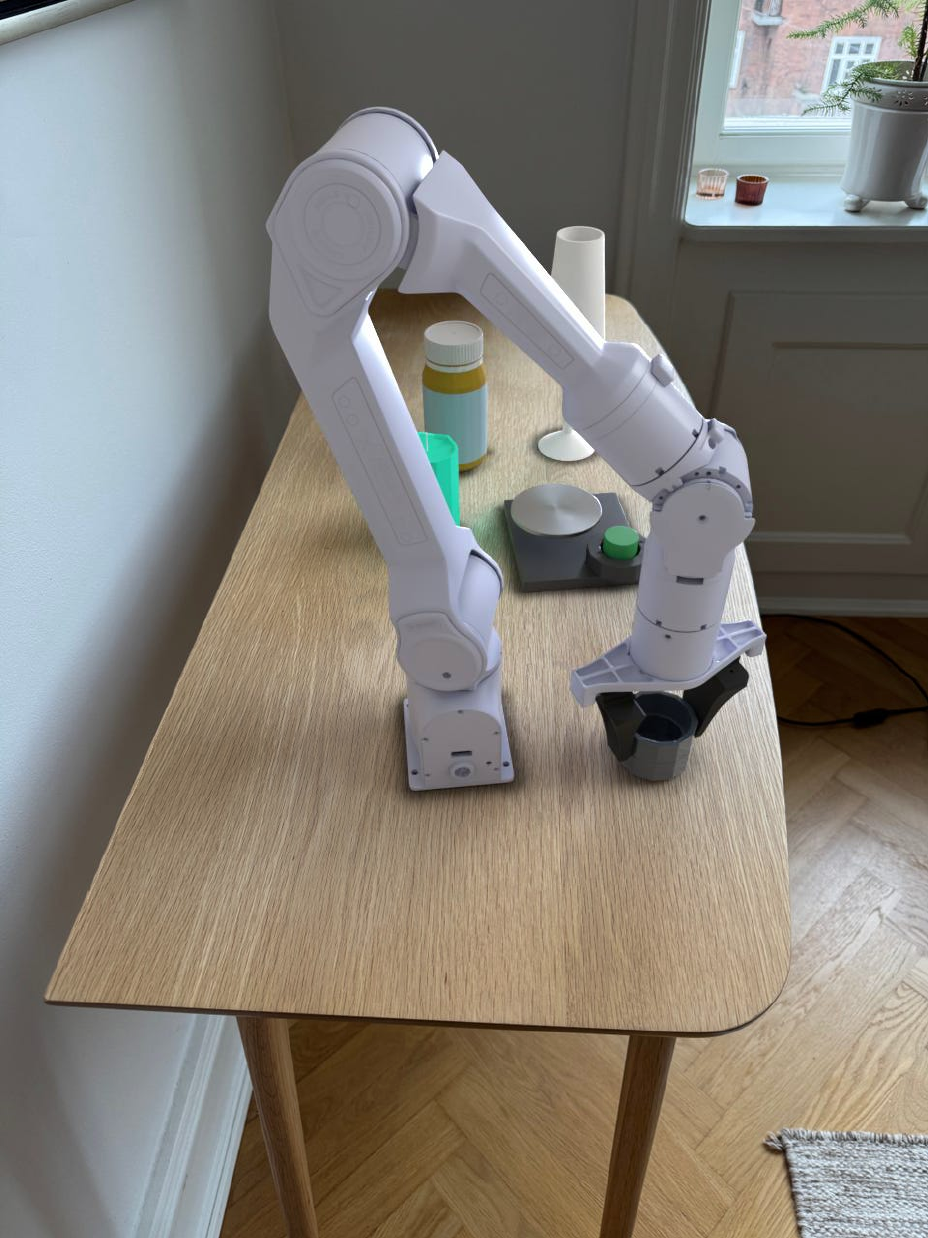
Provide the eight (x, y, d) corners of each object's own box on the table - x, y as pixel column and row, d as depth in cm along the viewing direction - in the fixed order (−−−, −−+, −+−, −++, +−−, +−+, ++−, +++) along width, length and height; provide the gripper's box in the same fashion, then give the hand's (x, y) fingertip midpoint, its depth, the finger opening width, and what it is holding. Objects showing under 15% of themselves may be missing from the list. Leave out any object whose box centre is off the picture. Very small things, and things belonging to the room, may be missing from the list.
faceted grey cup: (697, 781, 69) (706, 741, 66) (624, 788, 69) (630, 748, 66) (676, 726, 73) (684, 687, 71) (608, 732, 73) (613, 693, 70)
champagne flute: (606, 453, 105) (627, 239, 89) (553, 465, 103) (565, 249, 88) (579, 426, 110) (594, 219, 94) (528, 438, 108) (535, 228, 92)
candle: (454, 557, 90) (450, 451, 83) (395, 551, 91) (386, 445, 84) (466, 523, 95) (464, 419, 87) (410, 517, 96) (403, 414, 88)
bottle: (415, 465, 104) (407, 339, 94) (444, 437, 109) (440, 314, 99) (469, 479, 101) (467, 352, 92) (497, 450, 106) (498, 325, 96)
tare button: (640, 559, 86) (642, 544, 85) (606, 561, 86) (608, 546, 84) (632, 539, 88) (634, 524, 87) (599, 541, 88) (601, 526, 87)
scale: (656, 589, 87) (660, 564, 85) (524, 599, 86) (525, 574, 84) (620, 501, 98) (622, 477, 96) (503, 509, 97) (504, 485, 95)
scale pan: (610, 535, 88) (610, 531, 88) (517, 542, 88) (518, 537, 87) (591, 484, 95) (591, 480, 95) (505, 490, 94) (505, 486, 94)
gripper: (738, 546, 66) (708, 680, 75) (555, 594, 62) (546, 729, 71) (798, 605, 61) (758, 741, 70) (603, 661, 57) (587, 797, 66)
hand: (655, 739), depth 70 cm, fingers closed on faceted grey cup, 6 cm apart
